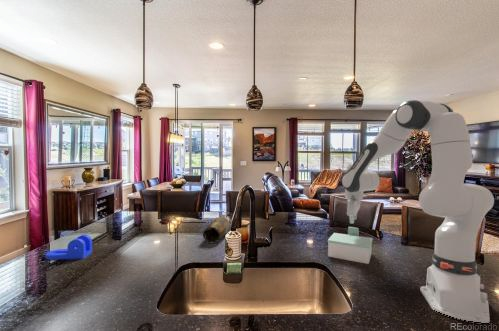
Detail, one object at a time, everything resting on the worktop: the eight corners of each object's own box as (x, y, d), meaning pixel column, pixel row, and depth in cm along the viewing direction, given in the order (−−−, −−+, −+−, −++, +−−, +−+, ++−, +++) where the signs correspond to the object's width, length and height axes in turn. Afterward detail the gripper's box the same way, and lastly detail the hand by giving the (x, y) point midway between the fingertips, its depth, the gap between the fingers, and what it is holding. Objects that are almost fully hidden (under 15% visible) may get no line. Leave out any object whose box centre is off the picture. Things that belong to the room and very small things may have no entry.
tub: (368, 263, 122) (369, 248, 121) (328, 256, 130) (328, 242, 130) (371, 254, 134) (371, 240, 134) (334, 248, 142) (334, 234, 142)
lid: (369, 250, 121) (370, 238, 121) (327, 243, 130) (327, 232, 130) (373, 239, 136) (373, 229, 136) (335, 234, 145) (335, 224, 145)
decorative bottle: (223, 239, 145) (241, 219, 189) (213, 222, 146) (234, 206, 190) (206, 248, 147) (228, 226, 191) (197, 230, 148) (221, 213, 192)
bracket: (92, 252, 133) (91, 234, 133) (83, 258, 125) (83, 239, 124) (52, 253, 131) (52, 235, 131) (41, 260, 123) (41, 240, 122)
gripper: (357, 198, 129) (356, 226, 130) (362, 192, 147) (362, 218, 147) (344, 196, 132) (343, 224, 133) (350, 191, 150) (349, 216, 150)
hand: (353, 221), depth 140 cm, fingers open, 8 cm apart
